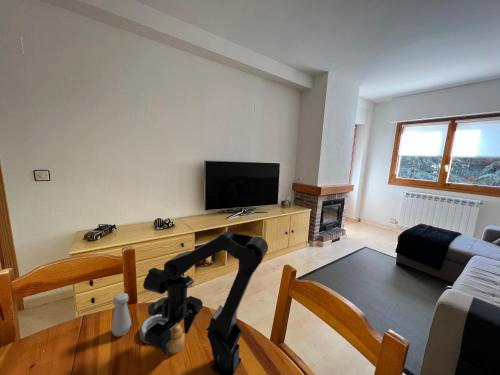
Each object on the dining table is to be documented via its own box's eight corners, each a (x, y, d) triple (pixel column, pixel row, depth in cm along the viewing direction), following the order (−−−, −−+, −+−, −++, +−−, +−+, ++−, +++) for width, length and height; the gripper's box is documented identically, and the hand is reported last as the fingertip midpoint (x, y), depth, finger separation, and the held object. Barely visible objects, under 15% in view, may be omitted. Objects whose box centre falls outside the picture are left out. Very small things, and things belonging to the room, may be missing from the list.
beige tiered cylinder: (187, 344, 68) (188, 324, 67) (176, 356, 63) (176, 335, 63) (175, 338, 70) (176, 319, 69) (164, 349, 65) (164, 329, 64)
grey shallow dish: (181, 325, 75) (182, 319, 75) (156, 349, 65) (156, 342, 65) (158, 315, 79) (159, 308, 79) (132, 335, 69) (131, 328, 69)
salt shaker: (135, 326, 73) (135, 291, 72) (123, 340, 68) (123, 302, 66) (119, 324, 74) (118, 289, 73) (106, 337, 68) (105, 299, 67)
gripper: (178, 275, 76) (177, 315, 78) (130, 305, 59) (131, 356, 61) (204, 284, 72) (202, 326, 73) (160, 319, 55) (159, 373, 57)
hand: (176, 343), depth 66 cm, fingers open, 9 cm apart
